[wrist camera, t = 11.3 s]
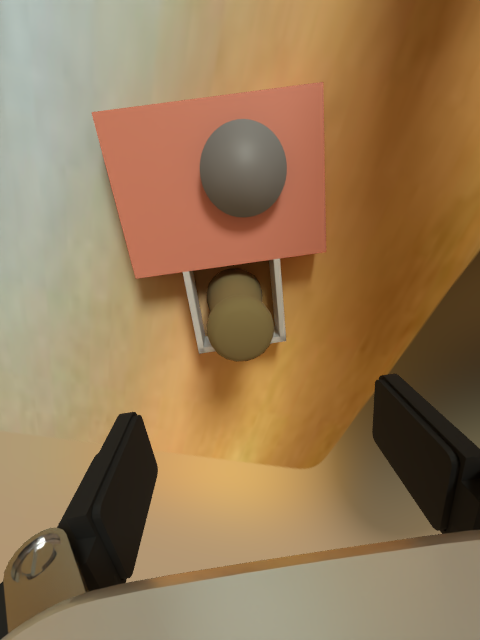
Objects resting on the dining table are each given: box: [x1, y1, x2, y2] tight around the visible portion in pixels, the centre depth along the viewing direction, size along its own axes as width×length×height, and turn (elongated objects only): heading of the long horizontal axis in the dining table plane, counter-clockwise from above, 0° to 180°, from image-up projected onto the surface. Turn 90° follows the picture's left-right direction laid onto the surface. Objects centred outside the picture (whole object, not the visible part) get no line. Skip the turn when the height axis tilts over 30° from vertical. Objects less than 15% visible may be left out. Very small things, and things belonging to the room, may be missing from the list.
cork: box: [207, 268, 274, 361], centre depth 25 cm, size 6×6×11 cm
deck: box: [92, 82, 326, 354], centre depth 26 cm, size 18×22×4 cm
